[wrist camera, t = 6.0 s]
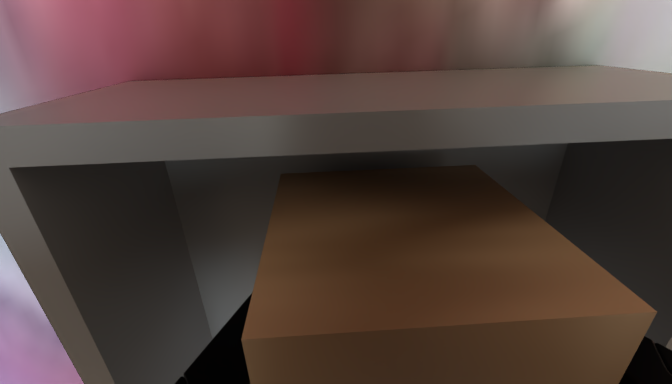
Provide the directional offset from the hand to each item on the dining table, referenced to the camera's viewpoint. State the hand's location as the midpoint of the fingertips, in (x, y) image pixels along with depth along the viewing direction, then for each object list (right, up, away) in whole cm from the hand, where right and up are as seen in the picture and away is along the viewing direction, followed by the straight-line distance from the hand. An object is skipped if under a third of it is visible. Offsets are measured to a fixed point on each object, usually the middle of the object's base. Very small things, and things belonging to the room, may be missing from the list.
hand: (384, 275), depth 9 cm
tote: (0, -2, +4) cm, 5 cm away
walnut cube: (0, +1, +1) cm, 1 cm away
